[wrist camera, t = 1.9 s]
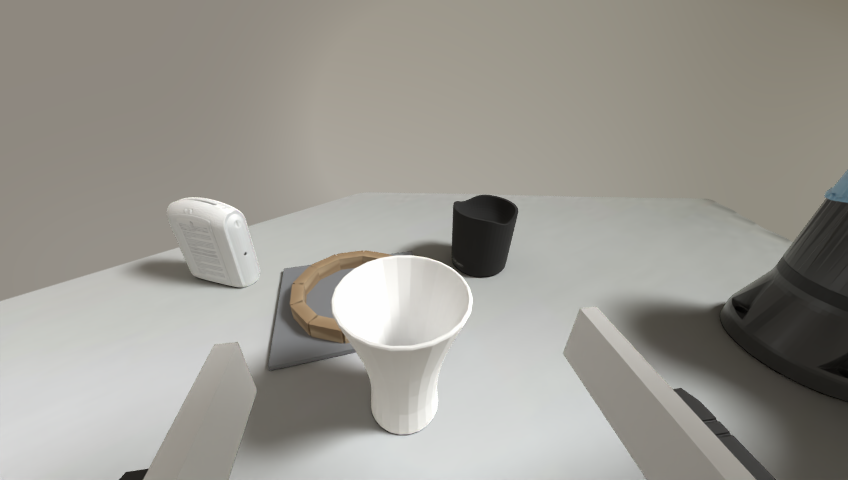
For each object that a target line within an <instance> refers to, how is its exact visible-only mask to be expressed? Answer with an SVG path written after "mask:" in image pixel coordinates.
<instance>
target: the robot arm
mask: <svg viewBox="0 0 848 480" xmlns="http://www.w3.org/2000/svg"><path fill="white" fill-rule="evenodd" d="M825 197H826V200H825V201H824V202H823V204H822V205H821V206H820V208H819V209H818V210H817V211H816V213H815V214H814V215H813V217H812V218H811V220H810V221H809V222H808V223H807V225H806V226H805V227H804V229H803V230H802V231H801V233H800V234H799V235H798V237H797V238H796V239H795V241H794V242H793V243H792V245H791V246H790V247H789V248H788V250H787V251H786V252H785V254H784V255H783V257H782V258H781V259H780V261H779V262H778V264H777V265H776V266H775V267H774V268H773V269H772V270H771V271H769V272H768V273H766V274H765V275H763V276H762V277H760V278H758V279H757V280H755V281H754V282H752V283H751V284H749V285H748V286H746V287H744V288H743V289H741V290H740V291H738V292H737V293H735V294H734V295H732V296H731V297H730V298H729V299H728V301H727V302H726V304H725V305H724V307H723V308H722V310H721V312H720V319H721V322H722V324H723V326H724V328H725V330H726V331H727V332H728V334H729V335H730V336H731V337H732V338H733V339H734V340H735V341H736V342H737V343H738V344H739V345H740V346H741V347H742V348H744V349H745V350H746V351H747V352H749V353H750V354H751V355H753V356H754V357H755V358H757V359H758V360H760V361H761V362H763V363H764V364H766V365H767V366H769V367H770V368H772V369H774V370H775V371H777V372H779V373H781V374H782V375H784V376H786V377H788V378H790V379H792V380H794V381H796V382H798V383H800V384H802V385H805V386H807V387H809V388H811V389H814V390H816V391H819V392H821V393H824V394H827V395H829V396H832V397H835V398H838V399H842V400H845V401H848V170H847V171H846V172H845V173H844V175H843V176H842V177H841V178H840V180H839V181H838V182H837V183H836V184H835V186H834V187H833V188H830V189H829V190H827V192H826V193H825ZM563 354H564V356H565V357H566V359H567V360H568V362H569V363H570V365H571V366H572V368H573V369H574V371H575V372H576V374H577V375H578V377H579V378H580V380H581V381H582V383H583V384H584V386H585V387H586V389H587V390H588V392H589V393H590V395H591V396H592V398H593V399H594V401H595V402H596V404H597V405H598V407H599V408H600V410H601V411H602V413H603V415H604V416H605V418H606V419H607V421H608V422H609V424H610V425H611V427H612V428H613V430H614V431H615V433H616V434H617V436H618V437H619V439H620V440H621V442H622V443H623V445H624V446H625V448H626V449H627V451H628V452H629V454H630V455H631V457H632V458H633V460H634V461H635V463H636V464H637V466H638V467H639V469H640V470H641V472H642V473H643V475H644V476H645V478H646V479H647V480H776V479H775V478H774V477H773V476H772V475H771V474H770V473H769V472H768V471H767V470H766V469H765V468H764V467H763V466H762V465H761V464H760V463H759V462H758V461H757V460H756V459H755V458H754V457H753V456H752V455H751V454H750V453H749V451H748V450H747V449H746V448H745V447H744V446H743V445H742V444H741V443H740V442H739V441H738V440H737V439H736V438H735V437H734V436H733V435H730V433H729V431H728V430H727V429H726V428H725V427H724V426H723V425H722V424H721V423H720V422H718V421H717V420H716V417H715V416H714V415H713V414H712V413H711V412H710V411H709V410H708V409H707V408H706V407H705V406H704V405H703V404H702V403H701V402H700V401H699V400H697V399H696V398H694V397H693V396H692V395H690V394H689V393H687V392H686V391H685V390H683V389H682V388H679V389H672V388H671V387H670V386H669V385H668V383H667V382H666V381H665V380H664V379H663V378H662V377H661V376H660V375H659V374H658V373H657V372H656V370H655V369H654V368H653V367H652V366H651V365H650V364H649V363H648V362H647V361H646V360H645V359H644V357H643V356H642V355H641V354H640V353H639V352H638V351H637V350H636V349H635V348H634V347H633V346H632V344H631V343H630V342H629V341H628V340H627V339H626V338H625V337H624V336H623V335H622V334H621V333H620V331H619V330H618V329H617V328H616V327H615V326H614V325H613V324H612V323H611V322H610V321H609V320H608V318H607V317H606V316H605V315H604V314H603V313H602V312H601V311H600V310H599V309H598V308H597V307H588V308H580V309H579V312H578V315H577V317H576V320H575V323H574V325H573V328H572V331H571V333H570V336H569V339H568V341H567V344H566V347H565V349H564V352H563ZM256 393H257V389H256V386H255V384H254V381H253V379H252V376H251V374H250V371H249V369H248V366H247V363H246V361H245V358H244V356H243V353H242V351H241V348H240V346H239V343H238V342H235V343H225V344H215V345H214V346H213V348H212V350H211V352H210V354H209V356H208V357H207V359H206V361H205V363H204V365H203V367H202V369H201V371H200V373H199V374H198V376H197V378H196V380H195V382H194V384H193V386H192V388H191V390H190V392H189V393H188V395H187V397H186V399H185V401H184V403H183V405H182V407H181V409H180V411H179V412H178V414H177V416H176V418H175V420H174V422H173V424H172V426H171V428H170V430H169V431H168V433H167V435H166V437H165V439H164V441H163V443H162V445H161V447H160V449H159V450H158V452H157V454H156V456H155V458H154V460H153V462H152V464H151V466H150V468H149V469H144V470H137V471H131V472H126V473H125V474H124V475H123V476H122V477H121V478H120V479H119V480H229V476H230V473H231V470H232V467H233V464H234V461H235V458H236V455H237V452H238V449H239V446H240V443H241V440H242V436H243V433H244V430H245V427H246V424H247V421H248V418H249V415H250V412H251V409H252V406H253V403H254V400H255V396H256Z"/></svg>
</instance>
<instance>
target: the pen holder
mask: <svg viewBox="0 0 848 480" xmlns="http://www.w3.org/2000/svg"><path fill="white" fill-rule="evenodd" d="M517 214H518V208H517V206H516V205H515V204H514V203H512V202H511V201H509V200H506V199H504V198H501V197H497V196H492V195H479V196H476V197H473V198H471V199H469V200H466V201H462V202H460V201H456V202H454V205H453V231H452V261H453V263H454V265H455V266H456V267H457V268H458V269H459V270H460V271H462V272H463V273H466V274H468V275H471V276H476V277H489V276H493V275H496V274H498V273H499V272H501V271H502V270H503V269H504V267H505V264H506V260H507V256H508V252H509V248H510V244H511V240H512V236H513V231H514V227H515V223H516V219H517Z"/></svg>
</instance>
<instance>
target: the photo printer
mask: <svg viewBox="0 0 848 480" xmlns="http://www.w3.org/2000/svg"><path fill="white" fill-rule="evenodd" d="M167 219H168V221H169V224H170V226H171V228H172V230H173V233H174V235H175V237H176V240H177V242H178V244H179V247H180V249H181V251H182V253H183V256H184V258H185V260H186V263H187V265H188V268H189V270H190V272H191V273H192V275H193V276H195V277H198V278H201V279H205V280H209V281H213V282H217V283H221V284H225V285H229V286H234V287H248V286H250V285H252V284H254V283H255V282H256V281H257V280H258V279H259V274H260V273H261V272H260V267H259V264H258V260H257V257H256V253H255V250H254V246H253V243H252V240H251V236H250V232H249V229H248V226H247V222H246V219H245V217H244V215H243V214H242V213H241V212H240V211H239V210H237V209H236V208H234V207H232V206H230V205H227V204H224V203H222V202H219V201H216V200H211V199H206V198H197V197H194V198H192V197H191V198H184V199H180V200H178V201H175V202H172V203H171V204H170V205H169V206H168V209H167Z"/></svg>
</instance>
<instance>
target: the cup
mask: <svg viewBox="0 0 848 480" xmlns="http://www.w3.org/2000/svg"><path fill="white" fill-rule="evenodd" d="M472 303H473V298H472V294H471V290H470V287H469V286H468V284H467V283H466V281H465V280H464V278H463V277H462V276H461V275H460V274H459V273H457V272H456V271H455V270H454V269H453V268H451V267H449V266H447V265H445V264H443V263H441V262H439V261H436V260H433V259H430V258H426V257H419V256H412V255H396V256H389V257H383V258H379V259H376V260H372V261H369V262H366V263H364V264H362V265H361V266H359V267H357V268H355V269H353V270H352V271H351V272H350V273H348V274H347V275H346V276H345V277H343V279H342V280H341V281H340V283H339V284H338V285H337V287H336V288H335V290H334V293H333V297H332V300H331V307H332V315H333V317H334V319H335V321H336V323H337V325H338V326H339V328H340V329H341V331H342V332H343V334H344V335H345V336H346V338H347V339H348V341H349V342H350V344H351V345H352V346H353V348H354V349H355V351H356V352H357V354H358V356H359V357H360V359H361V360H362V362H363V363H364V366H365V368H366V371H367V373H368V376H369V379H370V383H371V388H372V390H371V409H372V414H373V416H374V418H375V420H376V421H377V423H378V424H379V425H380V426H381V427H382V428H384V429H385V430H387V431H389V432H391V433H395V434H399V435H402V434H412V433H415V432H418V431H420V430H421V429H423V428H424V427H426V426H427V425H428V424H429V423H430V422H431V421H432V420H433V418H434V416H435V414H436V412H437V407H438V393H437V382H438V376H439V372H440V369H441V366H442V364H443V361H444V358H445V356H446V354H447V353H448V351H449V349H450V347H451V346H452V344H453V342H454V341H455V339H456V337H457V336H458V334H459V332H460V331H461V329H462V327H463V326H464V324H465V322H466V321H467V319H468V317H469V315H470V314H471V310H472Z"/></svg>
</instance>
